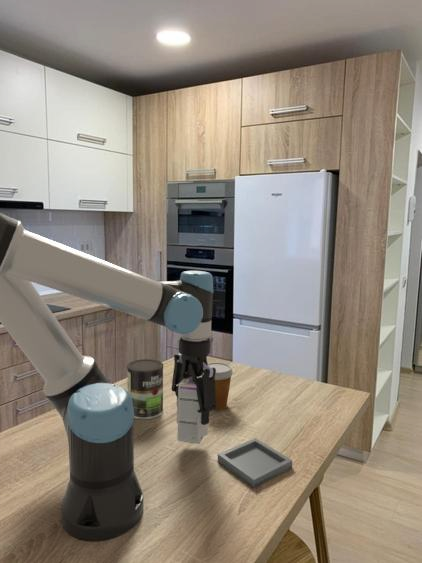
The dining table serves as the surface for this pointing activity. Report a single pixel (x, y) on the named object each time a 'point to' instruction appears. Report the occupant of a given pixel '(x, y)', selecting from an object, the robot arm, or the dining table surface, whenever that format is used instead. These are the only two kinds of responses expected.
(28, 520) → the dining table surface
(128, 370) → the coffee can
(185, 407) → the syrup box
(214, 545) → the dining table surface
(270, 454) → the tray
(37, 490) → the dining table surface
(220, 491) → the dining table surface
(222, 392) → the disposable coffee cup
